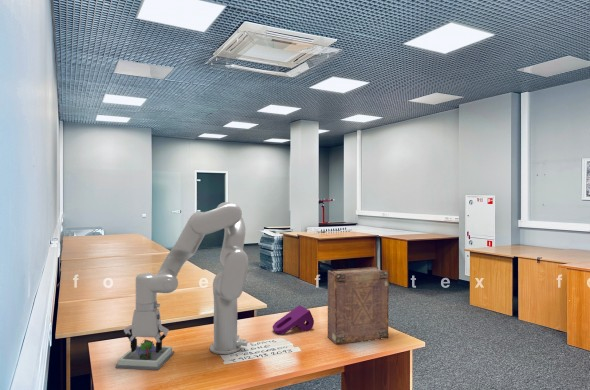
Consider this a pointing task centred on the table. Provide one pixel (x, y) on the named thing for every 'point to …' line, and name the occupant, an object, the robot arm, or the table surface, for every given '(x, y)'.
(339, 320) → the book
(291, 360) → the table surface
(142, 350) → the geometric puzzle
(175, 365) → the table surface
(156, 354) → the shallow square tray
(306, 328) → the mounting bracket
